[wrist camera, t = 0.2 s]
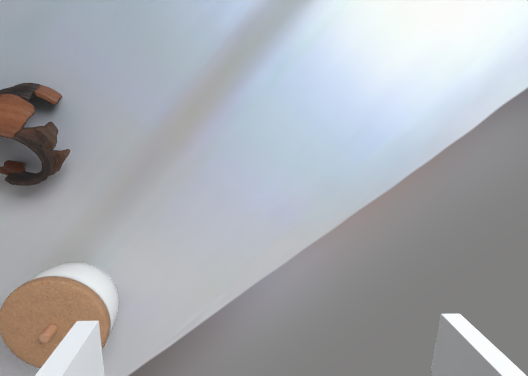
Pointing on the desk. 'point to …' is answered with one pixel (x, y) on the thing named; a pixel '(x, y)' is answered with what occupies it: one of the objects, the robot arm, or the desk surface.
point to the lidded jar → (57, 309)
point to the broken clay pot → (29, 132)
